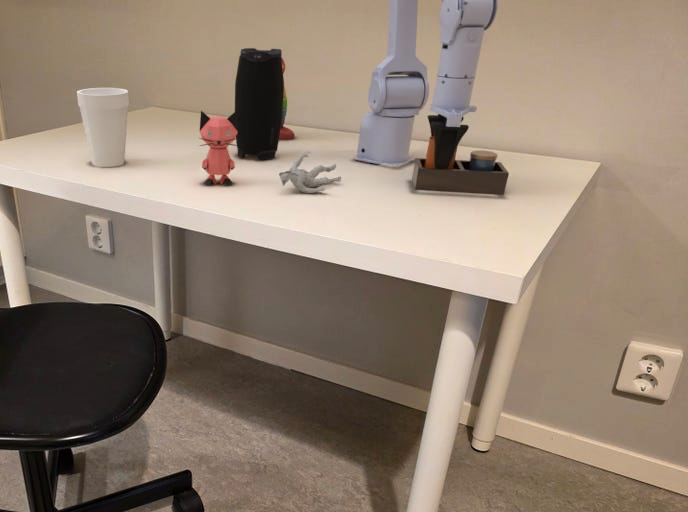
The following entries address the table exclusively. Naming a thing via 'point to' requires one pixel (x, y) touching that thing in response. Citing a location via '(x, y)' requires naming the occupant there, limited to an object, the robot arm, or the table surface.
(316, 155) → the table surface
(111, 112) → the foam cup
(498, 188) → the divided storage box
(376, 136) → the robot arm
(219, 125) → the cat figurine
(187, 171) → the table surface
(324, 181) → the soldier figure
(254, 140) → the portable speaker
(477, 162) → the blue jar
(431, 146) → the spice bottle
